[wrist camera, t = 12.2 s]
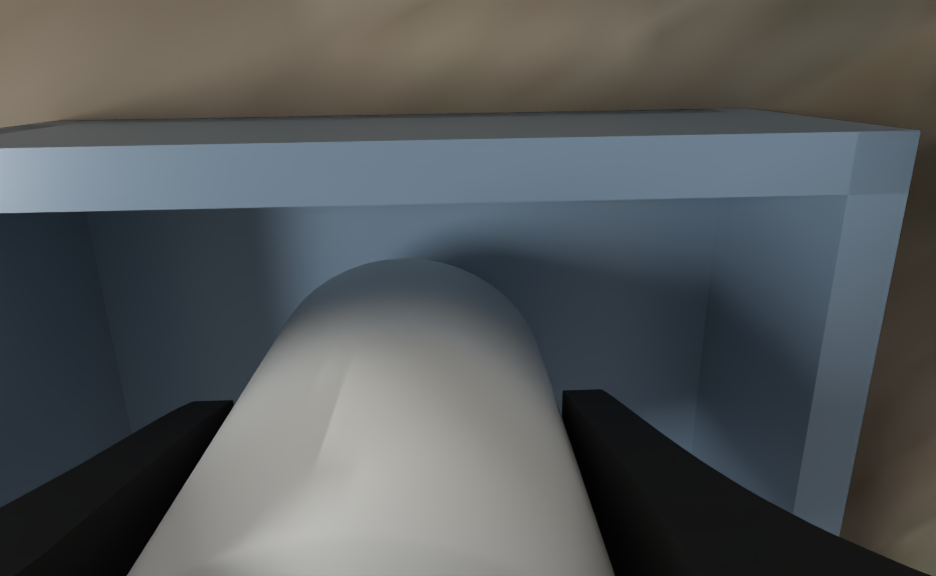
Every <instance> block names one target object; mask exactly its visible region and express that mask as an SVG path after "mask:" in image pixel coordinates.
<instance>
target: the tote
mask: <svg viewBox="0 0 936 576" xmlns="http://www.w3.org/2000/svg"><path fill="white" fill-rule="evenodd" d="M920 133H921V130H913V129H905V128H897V127H890V126H882V125H874V124H866V123H858V122H850V121H843V120H835V119H827V118H819V117H811V116H804V115H796V114H788V113H780V112H772V111H764V110H757V109H749V108H736V109H682V110H627V111H573V112H518V113H464V114H409V115H354V116H300V117H245V118H191V119H136V120H81V121H50V122H43V123H35V124H27V125H20V126H12V127H4V128H0V507H2V506H4V505H6V504H8V503H10V502H12V501H13V500H15V499H17V498H19V497H21V496H23V495H24V494H26V493H28V492H30V491H32V490H34V489H36V488H37V487H39V486H41V485H43V484H45V483H47V482H48V481H50V480H52V479H54V478H56V477H58V476H60V475H61V474H63V473H65V472H67V471H69V470H71V469H72V468H74V467H76V466H78V465H80V464H81V463H83V462H85V461H87V460H88V459H90V458H92V457H93V456H95V455H97V454H99V453H100V452H102V451H104V450H105V449H107V448H109V447H111V446H112V445H114V444H116V443H117V442H119V441H121V440H123V439H124V438H126V437H128V436H129V435H131V434H133V433H135V432H136V431H138V430H140V429H141V428H143V427H145V426H146V425H148V424H150V423H152V422H153V421H155V420H157V419H159V418H160V417H162V416H164V415H166V414H168V413H170V412H171V411H173V410H175V409H177V408H179V407H181V406H183V405H186V404H188V403H190V402H193V401H217V400H233V402H234V405H235V403H236V402H237V400H238V399H239V397H240V396H241V394H242V392H243V391H244V389H245V388H246V386H247V384H248V383H249V381H250V380H251V378H252V376H253V375H254V373H255V372H256V370H257V369H258V367H259V365H260V364H261V362H262V361H263V359H264V357H265V356H266V354H267V353H268V351H269V349H270V348H271V346H272V345H273V343H274V342H275V340H276V338H277V337H278V335H279V334H280V332H281V330H282V329H283V327H284V326H285V324H286V323H287V321H288V319H289V318H290V316H291V315H292V313H293V312H294V311H295V310H296V308H297V307H298V306H299V305H300V304H301V302H302V301H303V300H304V299H305V298H306V297H308V296H309V295H310V294H311V293H312V292H313V291H314V290H315V289H316V288H318V287H319V286H321V285H322V284H324V283H325V282H326V281H328V280H329V279H331V278H333V277H335V276H337V275H339V274H341V273H343V272H345V271H347V270H349V269H352V268H355V267H358V266H360V265H363V264H367V263H371V262H376V261H381V260H388V259H400V258H407V259H424V260H430V261H436V262H441V263H445V264H448V265H451V266H455V267H458V268H460V269H463V270H465V271H467V272H469V273H472V274H474V275H476V276H478V277H479V278H481V279H483V280H484V281H486V282H488V283H489V284H491V285H492V286H493V287H495V288H496V289H497V290H498V291H500V292H501V293H502V294H503V295H505V296H506V297H507V298H508V299H509V301H510V302H511V303H512V304H513V305H514V306H515V307H516V308H517V309H518V310H519V312H520V313H521V315H522V316H523V317H524V319H525V320H526V322H527V323H528V325H529V327H530V329H531V331H532V333H533V334H534V336H535V338H536V341H537V344H538V347H539V350H540V353H541V356H542V359H543V362H544V365H545V368H546V371H547V374H548V377H549V380H550V383H551V386H552V389H553V392H554V395H555V398H556V401H557V404H558V407H559V410H560V413H561V416H562V393H563V390H592V389H602V390H604V391H605V392H607V393H609V394H610V395H611V396H613V397H614V398H616V399H617V400H618V401H620V402H621V403H622V404H624V405H625V406H626V407H628V408H629V409H630V410H632V411H633V412H634V413H636V414H637V415H638V416H640V417H641V418H642V419H644V420H645V421H646V422H648V423H649V424H650V425H652V426H653V427H654V428H656V429H657V430H658V431H660V432H661V433H662V434H664V435H665V436H667V437H668V438H669V439H671V440H672V441H674V442H675V443H676V444H678V445H679V446H681V447H682V448H684V449H685V450H686V451H688V452H689V453H691V454H692V455H694V456H695V457H697V458H698V459H700V460H701V461H703V462H704V463H706V464H707V465H709V466H710V467H712V468H714V469H715V470H717V471H718V472H720V473H722V474H723V475H725V476H726V477H728V478H730V479H731V480H733V481H734V482H736V483H738V484H739V485H741V486H743V487H744V488H746V489H748V490H749V491H751V492H753V493H755V494H756V495H758V496H760V497H762V498H763V499H765V500H767V501H769V502H771V503H773V504H775V505H777V506H778V507H780V508H782V509H784V510H786V511H788V512H790V513H792V514H794V515H796V516H798V517H799V518H801V519H803V520H805V521H807V522H809V523H811V524H813V525H815V526H817V527H819V528H821V529H823V530H826V531H828V532H830V533H832V534H834V535H836V536H838V537H839V535H840V530H841V525H842V520H843V515H844V510H845V505H846V500H847V495H848V490H849V485H850V480H851V475H852V470H853V466H854V461H855V456H856V451H857V446H858V441H859V436H860V431H861V426H862V421H863V416H864V411H865V406H866V401H867V396H868V391H869V386H870V381H871V376H872V371H873V366H874V361H875V356H876V351H877V346H878V341H879V336H880V331H881V326H882V321H883V316H884V312H885V307H886V302H887V297H888V292H889V287H890V282H891V277H892V272H893V267H894V262H895V257H896V252H897V247H898V242H899V237H900V232H901V227H902V222H903V217H904V212H905V207H906V202H907V197H908V192H909V187H910V182H911V177H912V172H913V167H914V163H915V158H916V153H917V148H918V143H919V138H920Z"/></svg>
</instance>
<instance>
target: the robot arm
mask: <svg viewBox="0 0 936 576" xmlns="http://www.w3.org/2000/svg"><path fill="white" fill-rule="evenodd" d="M233 407H234V402H233V400H217V401H193V402H190V403H188V404H186V405H183V406H181V407H179V408H177V409H175V410H173V411H171V412H170V413H168V414H166V415H164V416H162V417H160V418H159V419H157V420H155V421H153V422H152V423H150V424H148V425H146V426H145V427H143V428H141V429H140V430H138V431H136V432H135V433H133V434H131V435H129V436H128V437H126V438H124V439H123V440H121V441H119V442H117V443H116V444H114V445H112V446H111V447H109V448H107V449H105V450H104V451H102V452H100V453H99V454H97V455H95V456H93V457H92V458H90V459H88V460H87V461H85V462H83V463H81V464H80V465H78V466H76V467H74V468H72V469H71V470H69V471H67V472H65V473H63V474H61V475H60V476H58V477H56V478H54V479H52V480H50V481H48V482H47V483H45V484H43V485H41V486H39V487H37V488H36V489H34V490H32V491H30V492H28V493H26V494H24V495H23V496H21V497H19V498H17V499H15V500H13V501H12V502H10V503H8V504H6V505H4V506H2V507H0V576H127V575H128V573H129V572H130V570H131V569H132V567H133V565H134V564H135V562H136V561H137V559H138V557H139V556H140V554H141V553H142V551H143V549H144V548H145V546H146V545H147V543H148V542H149V540H150V538H151V537H152V535H153V534H154V532H155V530H156V529H157V527H158V526H159V524H160V522H161V521H162V519H163V518H164V516H165V515H166V513H167V511H168V510H169V508H170V507H171V505H172V503H173V502H174V500H175V499H176V497H177V496H178V494H179V492H180V491H181V489H182V488H183V486H184V484H185V483H186V481H187V480H188V478H189V476H190V475H191V473H192V472H193V470H194V469H195V467H196V465H197V464H198V462H199V461H200V459H201V457H202V456H203V454H204V453H205V451H206V449H207V448H208V446H209V445H210V443H211V442H212V440H213V438H214V437H215V435H216V434H217V432H218V430H219V429H220V427H221V426H222V424H223V423H224V421H225V419H226V418H227V416H228V415H229V413H230V411H231V410H232V408H233ZM562 419H563V422H564V425H565V428H566V430H567V433H568V436H569V439H570V442H571V445H572V448H573V451H574V454H575V457H576V460H577V463H578V466H579V469H580V472H581V475H582V478H583V481H584V484H585V487H586V490H587V493H588V496H589V499H590V502H591V505H592V508H593V511H594V514H595V517H596V520H597V523H598V526H599V529H600V532H601V535H602V538H603V541H604V544H605V547H606V550H607V553H608V556H609V559H610V562H611V565H612V568H613V571H614V574H615V576H931V575H928V574H926V573H923V572H920V571H918V570H915V569H913V568H910V567H908V566H905V565H903V564H900V563H898V562H896V561H893V560H891V559H889V558H886V557H884V556H882V555H879V554H877V553H875V552H872V551H870V550H868V549H865V548H863V547H861V546H859V545H856V544H854V543H852V542H849V541H847V540H845V539H842V538H840V537H838V536H836V535H834V534H832V533H830V532H828V531H826V530H823V529H821V528H819V527H817V526H815V525H813V524H811V523H809V522H807V521H805V520H803V519H801V518H799V517H798V516H796V515H794V514H792V513H790V512H788V511H786V510H784V509H782V508H780V507H778V506H777V505H775V504H773V503H771V502H769V501H767V500H765V499H763V498H762V497H760V496H758V495H756V494H755V493H753V492H751V491H749V490H748V489H746V488H744V487H743V486H741V485H739V484H738V483H736V482H734V481H733V480H731V479H730V478H728V477H726V476H725V475H723V474H722V473H720V472H718V471H717V470H715V469H714V468H712V467H710V466H709V465H707V464H706V463H704V462H703V461H701V460H700V459H698V458H697V457H695V456H694V455H692V454H691V453H689V452H688V451H686V450H685V449H684V448H682V447H681V446H679V445H678V444H676V443H675V442H674V441H672V440H671V439H669V438H668V437H667V436H665V435H664V434H662V433H661V432H660V431H658V430H657V429H656V428H654V427H653V426H652V425H650V424H649V423H648V422H646V421H645V420H644V419H642V418H641V417H640V416H638V415H637V414H636V413H634V412H633V411H632V410H630V409H629V408H628V407H626V406H625V405H624V404H622V403H621V402H620V401H618V400H617V399H616V398H614V397H613V396H611V395H610V394H609V393H607V392H605V391H604V390H602V389H592V390H563V393H562Z"/></svg>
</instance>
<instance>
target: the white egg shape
mask: <svg viewBox="0 0 936 576" xmlns="http://www.w3.org/2000/svg"><path fill="white" fill-rule="evenodd" d="M127 576H615V574H614V571H613V568H612V565H611V562H610V559H609V556H608V553H607V550H606V547H605V544H604V541H603V538H602V535H601V532H600V529H599V526H598V523H597V520H596V517H595V514H594V511H593V508H592V505H591V502H590V499H589V496H588V493H587V490H586V487H585V484H584V481H583V478H582V475H581V472H580V469H579V466H578V463H577V460H576V457H575V454H574V451H573V448H572V445H571V442H570V439H569V436H568V433H567V430H566V428H565V425H564V422H563V419H562V416H561V413H560V410H559V407H558V404H557V401H556V398H555V395H554V392H553V389H552V386H551V383H550V380H549V377H548V374H547V371H546V368H545V365H544V362H543V359H542V356H541V353H540V350H539V347H538V344H537V341H536V338H535V336H534V334H533V333H532V331H531V329H530V327H529V325H528V323H527V322H526V320H525V319H524V317H523V316H522V315H521V313H520V312H519V310H518V309H517V308H516V307H515V306H514V305H513V304H512V303H511V302H510V301H509V299H508V298H507V297H506V296H505V295H503V294H502V293H501V292H500V291H498V290H497V289H496V288H495V287H493V286H492V285H491V284H489V283H488V282H486V281H484V280H483V279H481V278H479V277H478V276H476V275H474V274H472V273H469V272H467V271H465V270H463V269H460V268H458V267H455V266H451V265H448V264H445V263H441V262H436V261H430V260H424V259H407V258H400V259H388V260H381V261H376V262H371V263H367V264H363V265H360V266H358V267H355V268H352V269H349V270H347V271H345V272H343V273H341V274H339V275H337V276H335V277H333V278H331V279H329V280H328V281H326V282H325V283H324V284H322V285H321V286H319V287H318V288H316V289H315V290H314V291H313V292H312V293H311V294H310V295H309V296H308V297H306V298H305V299H304V300H303V301H302V302H301V304H300V305H299V306H298V307H297V308H296V310H295V311H294V312H293V313H292V315H291V316H290V318H289V319H288V321H287V323H286V324H285V326H284V327H283V329H282V330H281V332H280V334H279V335H278V337H277V338H276V340H275V342H274V343H273V345H272V346H271V348H270V349H269V351H268V353H267V354H266V356H265V357H264V359H263V361H262V362H261V364H260V365H259V367H258V369H257V370H256V372H255V373H254V375H253V376H252V378H251V380H250V381H249V383H248V384H247V386H246V388H245V389H244V391H243V392H242V394H241V396H240V397H239V399H238V400H237V402H236V403H235V405H234V407H233V408H232V410H231V411H230V413H229V415H228V416H227V418H226V419H225V421H224V423H223V424H222V426H221V427H220V429H219V430H218V432H217V434H216V435H215V437H214V438H213V440H212V442H211V443H210V445H209V446H208V448H207V449H206V451H205V453H204V454H203V456H202V457H201V459H200V461H199V462H198V464H197V465H196V467H195V469H194V470H193V472H192V473H191V475H190V476H189V478H188V480H187V481H186V483H185V484H184V486H183V488H182V489H181V491H180V492H179V494H178V496H177V497H176V499H175V500H174V502H173V503H172V505H171V507H170V508H169V510H168V511H167V513H166V515H165V516H164V518H163V519H162V521H161V522H160V524H159V526H158V527H157V529H156V530H155V532H154V534H153V535H152V537H151V538H150V540H149V542H148V543H147V545H146V546H145V548H144V549H143V551H142V553H141V554H140V556H139V557H138V559H137V561H136V562H135V564H134V565H133V567H132V569H131V570H130V572H129V573H128V575H127Z"/></svg>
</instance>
